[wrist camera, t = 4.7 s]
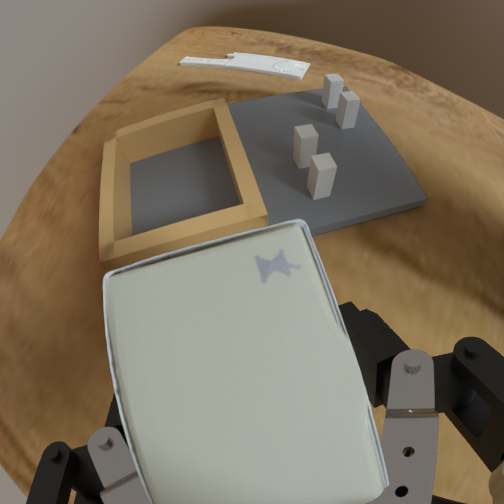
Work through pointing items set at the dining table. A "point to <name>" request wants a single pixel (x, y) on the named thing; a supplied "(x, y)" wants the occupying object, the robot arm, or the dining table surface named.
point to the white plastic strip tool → (253, 64)
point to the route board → (247, 172)
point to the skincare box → (240, 375)
